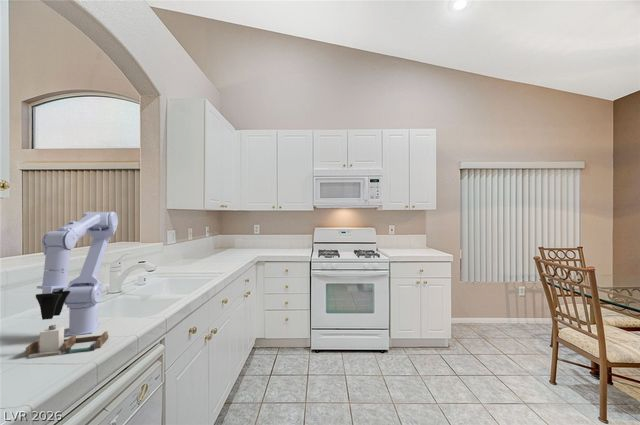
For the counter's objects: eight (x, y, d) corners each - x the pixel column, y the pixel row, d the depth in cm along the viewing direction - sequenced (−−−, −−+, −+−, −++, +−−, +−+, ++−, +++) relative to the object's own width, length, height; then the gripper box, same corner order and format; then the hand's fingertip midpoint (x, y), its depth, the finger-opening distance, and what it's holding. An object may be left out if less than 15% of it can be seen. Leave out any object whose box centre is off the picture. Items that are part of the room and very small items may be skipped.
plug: (45, 348, 93) (45, 324, 93) (63, 346, 95) (64, 323, 95) (39, 353, 90) (39, 328, 90) (58, 350, 92) (58, 326, 92)
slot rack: (40, 345, 95) (40, 337, 95) (108, 338, 101) (108, 330, 101) (23, 358, 86) (23, 349, 86) (98, 349, 92) (98, 341, 92)
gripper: (46, 270, 99) (41, 315, 96) (30, 271, 86) (24, 322, 84) (74, 270, 102) (70, 313, 99) (62, 270, 89) (57, 319, 87)
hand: (51, 317), depth 92 cm, fingers open, 7 cm apart
